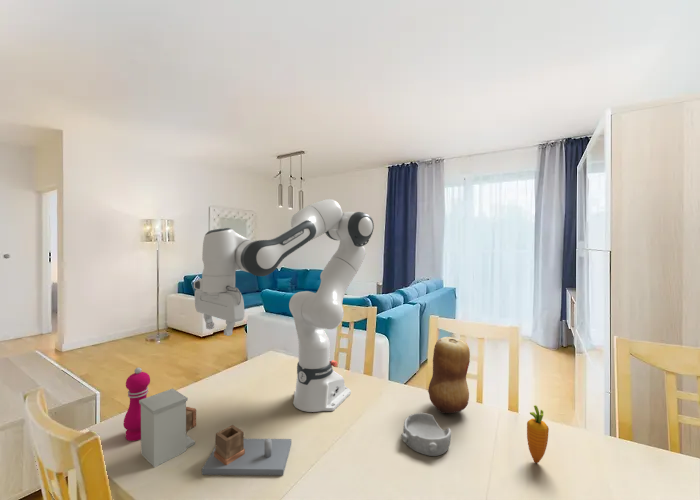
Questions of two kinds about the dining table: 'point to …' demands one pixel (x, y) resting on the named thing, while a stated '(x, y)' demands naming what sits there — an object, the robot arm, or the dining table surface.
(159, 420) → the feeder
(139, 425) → the pepper mill
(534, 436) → the carrot
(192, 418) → the sleeve
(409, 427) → the dish
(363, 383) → the dining table surface
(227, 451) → the sleeve
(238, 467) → the pin board
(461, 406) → the butternut squash
